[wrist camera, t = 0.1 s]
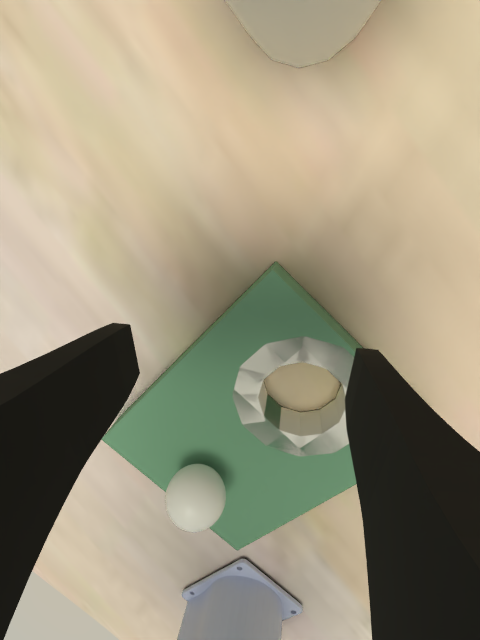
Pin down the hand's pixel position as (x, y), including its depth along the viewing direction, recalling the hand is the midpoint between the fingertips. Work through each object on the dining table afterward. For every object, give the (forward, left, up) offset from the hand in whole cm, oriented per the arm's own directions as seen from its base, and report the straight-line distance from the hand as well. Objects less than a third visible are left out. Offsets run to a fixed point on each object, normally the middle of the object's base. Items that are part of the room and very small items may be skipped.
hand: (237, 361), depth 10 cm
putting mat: (-8, -6, -11) cm, 15 cm away
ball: (-13, -6, -6) cm, 15 cm away
